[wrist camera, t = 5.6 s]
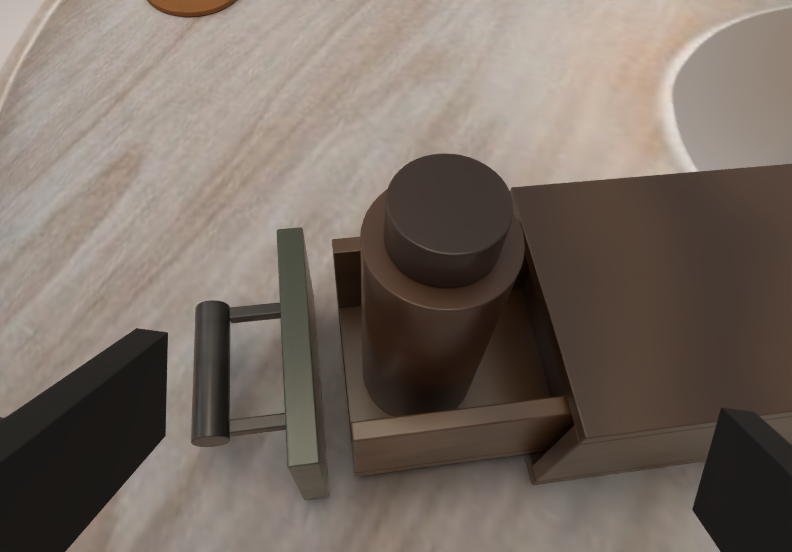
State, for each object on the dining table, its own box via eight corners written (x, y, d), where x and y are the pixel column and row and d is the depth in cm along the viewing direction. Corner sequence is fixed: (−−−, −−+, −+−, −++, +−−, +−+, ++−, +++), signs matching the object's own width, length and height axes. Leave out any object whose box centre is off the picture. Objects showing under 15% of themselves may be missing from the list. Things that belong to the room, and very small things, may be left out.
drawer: (210, 513, 28) (169, 482, 22) (214, 306, 33) (181, 237, 27) (577, 463, 30) (629, 422, 24) (524, 275, 35) (555, 204, 29)
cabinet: (531, 485, 30) (586, 438, 22) (481, 277, 36) (510, 186, 28) (799, 448, 31) (933, 392, 24) (708, 254, 37) (792, 163, 30)
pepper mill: (369, 429, 29) (370, 288, 17) (357, 325, 32) (350, 140, 20) (481, 415, 29) (561, 269, 17) (460, 314, 32) (515, 128, 20)
